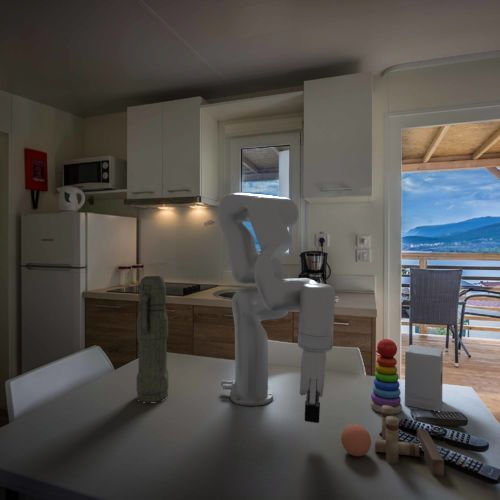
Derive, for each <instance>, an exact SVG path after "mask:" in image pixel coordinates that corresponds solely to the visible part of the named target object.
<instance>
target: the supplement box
mask: <svg viewBox="0 0 500 500" xmlns="http://www.w3.org/2000/svg"><path fill="white" fill-rule="evenodd" d="M443 352H444V350H443V348H439V347H429V346H424V345H423V346H422V345H416V344H415V345H414V344H410V345H409V346H408V347H407V349H406V350H405V353H404V354H405V355H404V406H409V407H413V408H418V409H422V410H427V411H431V410H435V411H440V412H441V409H442V406H443V374H444V373H443V367H444V366H443V361H444V360H443V359H444V358H443V356H444V353H443ZM435 411H434V412H435Z"/></svg>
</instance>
